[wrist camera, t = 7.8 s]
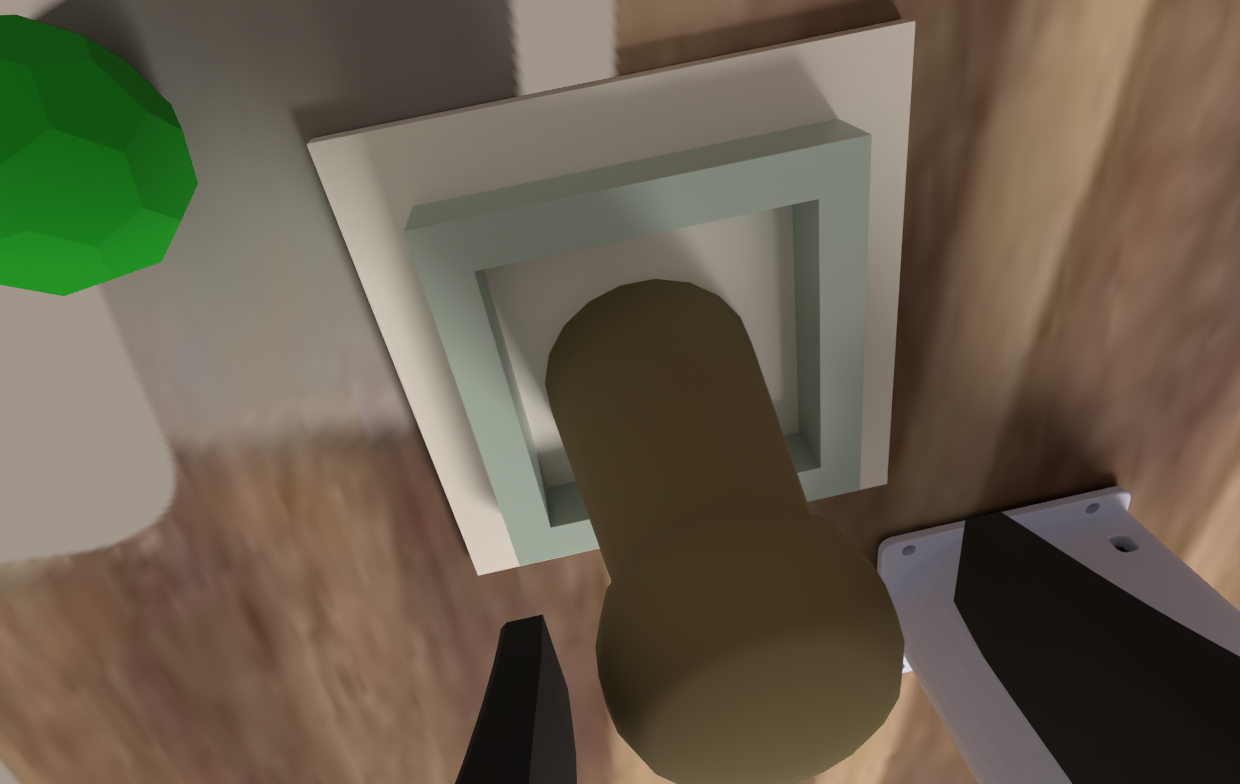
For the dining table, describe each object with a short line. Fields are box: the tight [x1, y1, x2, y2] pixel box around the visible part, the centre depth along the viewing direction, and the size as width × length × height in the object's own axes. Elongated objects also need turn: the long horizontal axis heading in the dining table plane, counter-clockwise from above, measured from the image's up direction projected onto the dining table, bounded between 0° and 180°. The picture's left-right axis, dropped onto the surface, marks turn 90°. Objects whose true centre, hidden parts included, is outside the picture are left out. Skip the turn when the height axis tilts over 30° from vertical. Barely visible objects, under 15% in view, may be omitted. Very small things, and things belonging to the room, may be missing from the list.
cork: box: [545, 279, 905, 784], centre depth 15 cm, size 6×6×11 cm
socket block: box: [307, 19, 916, 575], centre depth 19 cm, size 14×14×2 cm
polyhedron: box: [0, 15, 198, 296], centre depth 13 cm, size 5×5×5 cm
